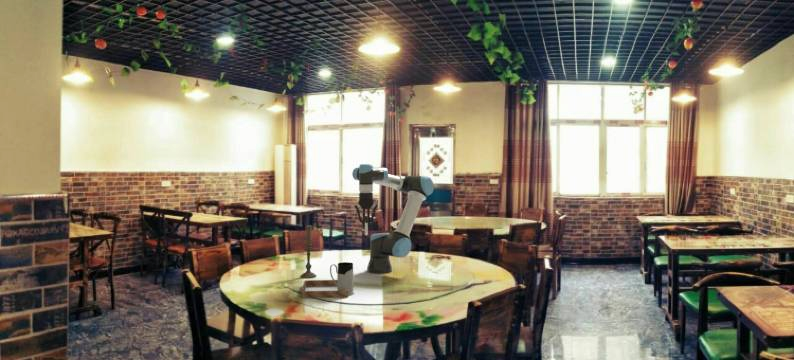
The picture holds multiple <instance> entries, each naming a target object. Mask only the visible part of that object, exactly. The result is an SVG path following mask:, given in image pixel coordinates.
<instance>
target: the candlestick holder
mask: <svg viewBox="0 0 794 360" xmlns="http://www.w3.org/2000/svg"><path fill="white" fill-rule="evenodd" d="M311 227H312V225H306V243H305V250H306V261H307V263H306V264H304V266H305V269H306V271H305V272H302V274H300V275H299V277H300V278H302V279H315V278H317V274H315V272H313V271H311V269H312V264H311V250H312V246H313V244H312V242H311V241H312V240H311V239H312V234H311V233H312V232H311V231H312V229H311Z"/></svg>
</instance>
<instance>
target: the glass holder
mask: <svg viewBox="0 0 794 360" xmlns="http://www.w3.org/2000/svg"><path fill="white" fill-rule="evenodd" d="M333 266H334V267H335V270H336V274H337V276H336V277H337V279H334V277H333V274H332V267H333ZM329 273H330V277H331V280H333V281H334V282H335V280H337V283H336V282H335V284H336V285H337V286H336V287H337V289H336V291H346V290H348V297H351V296H353V295H355V293H354V263H352V262H339V263H337V265H336V264H335V263H333V264H331V265H330V266H329Z"/></svg>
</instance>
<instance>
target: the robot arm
mask: <svg viewBox="0 0 794 360" xmlns="http://www.w3.org/2000/svg"><path fill="white" fill-rule="evenodd" d="M351 173H352V174H351V175H352V178H353V179H354V180H355V181H359V182H358V184H359V185H358V191H359V194H358V197H359V198H358V201H357V202H358V203H355V205H354V207H355V209H356V213H357V217H358V220H359V222H360V223H362V229H363V230H364V236H368V235H369V233H368V232H369V229H370V228H371V225H370V224H371V223H373V222H374V218H375V214H376V210H377V208H378V206H379V205H378V204H376V203H374V199H373V198H374V195H373V194H374V193H373V191H374V190H373V187H374V185H373V184H376V185H380V186H385V187H388V188H392V189H393V190H395V191H398V192H401V193H405V194H408V196H409V197H408V199H407V201H406V204H405V207H404V209H403V211H402V214H401V216H400V219H399V222H397V226H396V229H394V230H392V232H391V234H390V232H383V233H373V234H371V235H370V241H369V244H370V245H369V253H370V254H369V255H370V256H369V261H368V264H367V266H366V267H367V268H366V271H367V272H368V273H370V274H388V273H392V271H393V266H392V264H391V260H390V257H395V258H406V257H407V256H408V255H409V254H410V252H411V250H412V242H411V241H412V240H411V237H410V234H411V231H412V229H413V227H414V224H415V222H416V219H417V216H418V213H419V212H420V211H419V210H420V208H421V206H422V204H423V201H425V200H427V197H428V196H430V195H432V194H433V192H434V188H435V187H434V181H433V179H432V178H431V177H430V176H428V175H398V174H397V175H393V174H389V170H388V168H387V167H380V166H379V167H373V164H371V163H369V164H368V163H367V164H366V163H365V164H363V163H360V164H359V166H358V167H354V168H353V170H352V172H351ZM372 207H373V208H372ZM359 208H361V209H362V216H361V213H360V209H359ZM371 208H372V212H371V213H370V211H371V210H370V209H371ZM370 214H371V215H370ZM366 218H367V219H366ZM366 220H367V221H366Z"/></svg>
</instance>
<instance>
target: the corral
mask: <svg viewBox="0 0 794 360" xmlns="http://www.w3.org/2000/svg"><path fill="white" fill-rule="evenodd" d="M334 280H335V282H336V283H337V279H334ZM335 282H334V281H333V279H321V280H319V279H315V280H313V279H310V280H309V279H306V280H304V281H303V284H302V287H301V290H300V299H309V298H310V299H313V298H314V299H317V298H318V299H319V298H324V299H325V298H349V296H348V290H346V291H337V290H306V289H307V287H337V285H336V284H335Z"/></svg>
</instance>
